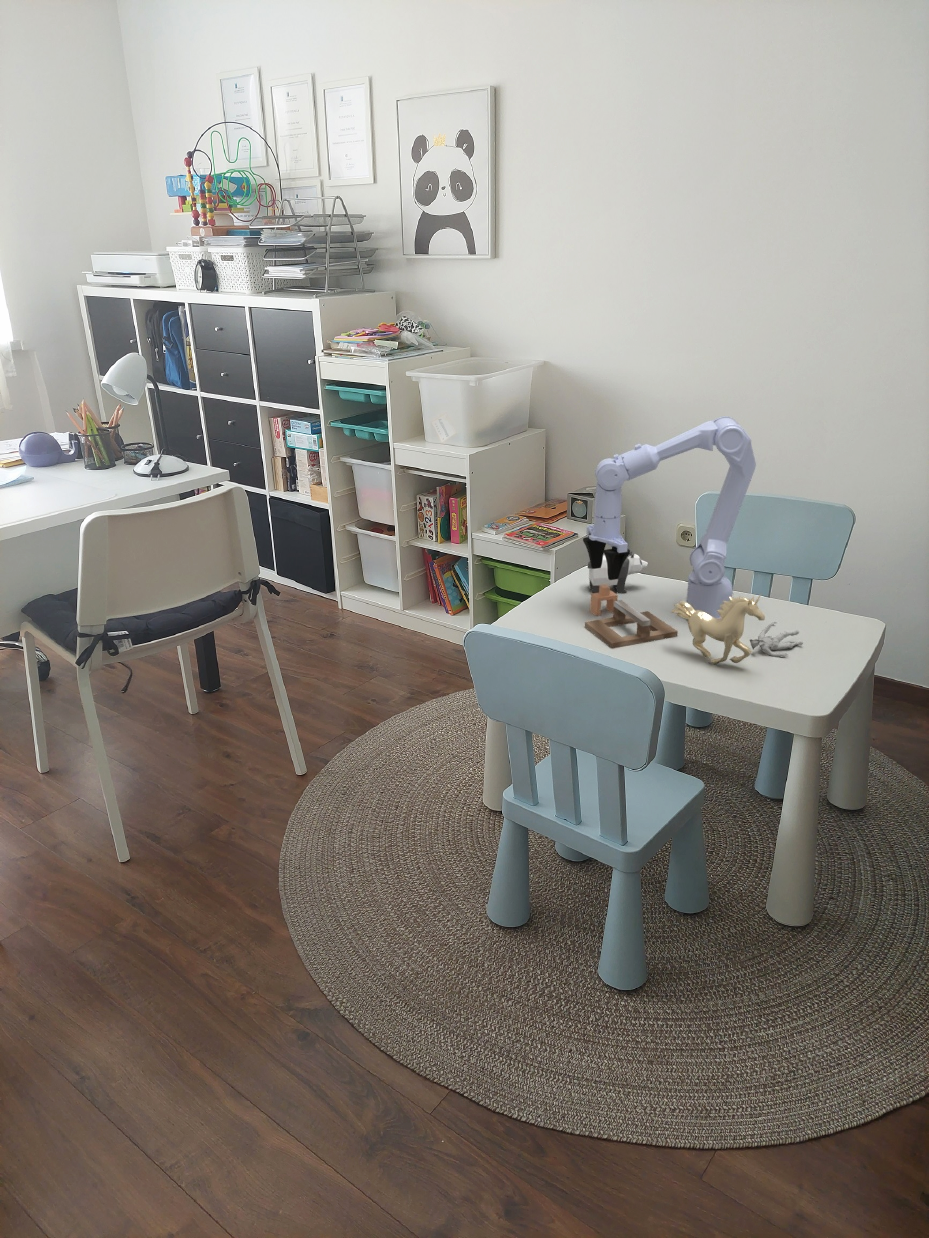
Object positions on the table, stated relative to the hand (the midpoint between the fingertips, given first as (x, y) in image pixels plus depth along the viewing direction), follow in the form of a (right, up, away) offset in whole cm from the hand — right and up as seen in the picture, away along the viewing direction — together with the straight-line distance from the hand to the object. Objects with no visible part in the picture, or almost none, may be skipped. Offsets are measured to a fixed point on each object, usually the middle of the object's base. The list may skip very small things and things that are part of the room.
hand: (604, 573), depth 199 cm
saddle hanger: (+1, -9, +5) cm, 10 cm away
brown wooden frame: (+5, -13, -5) cm, 15 cm away
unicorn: (+19, -19, -19) cm, 32 cm away
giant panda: (+5, -3, +18) cm, 19 cm away
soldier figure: (+33, -17, -14) cm, 40 cm away
